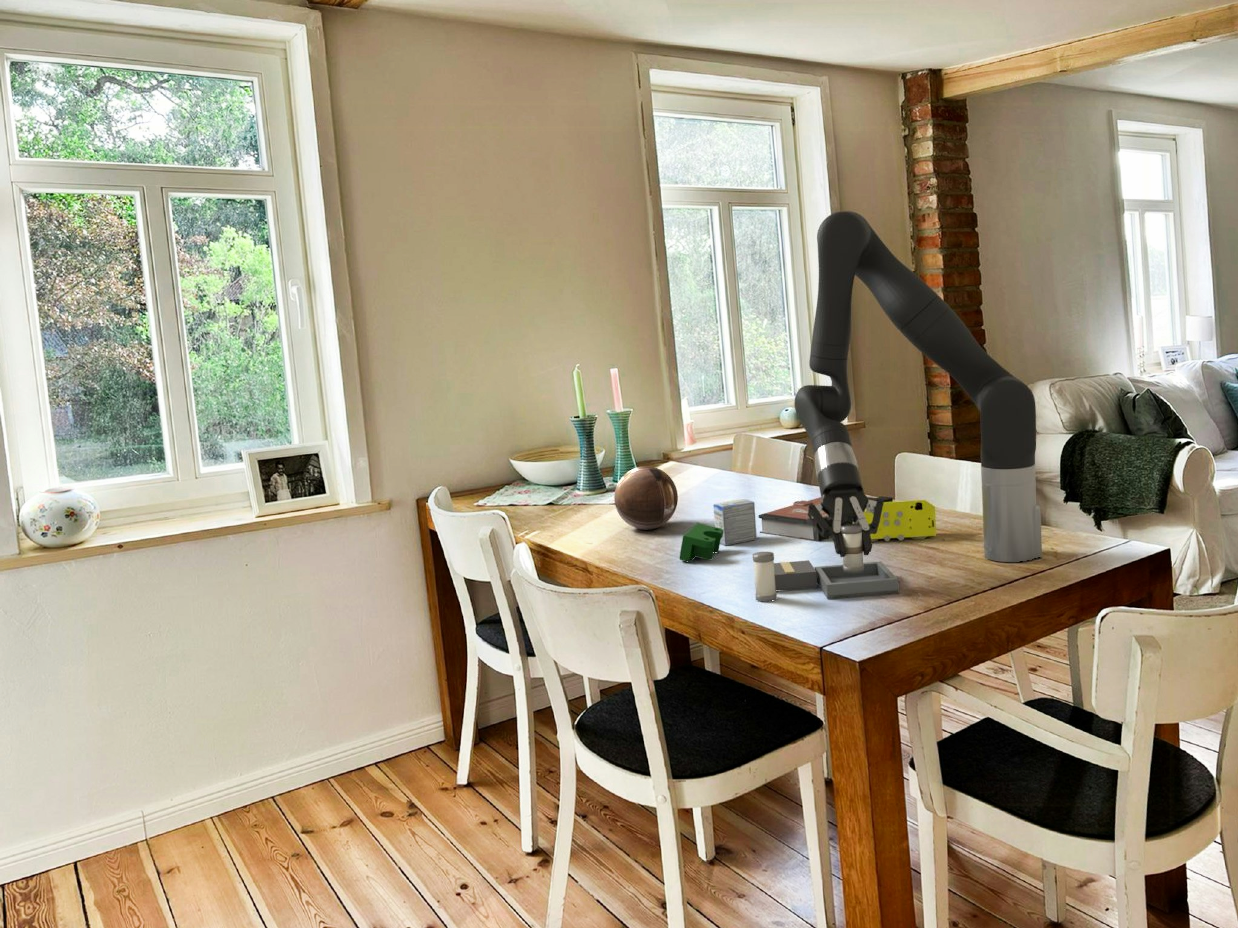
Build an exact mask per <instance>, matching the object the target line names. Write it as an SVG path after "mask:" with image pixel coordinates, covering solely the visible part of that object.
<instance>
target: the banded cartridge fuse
mask: <svg viewBox="0 0 1238 928" xmlns="http://www.w3.org/2000/svg"><path fill="white" fill-rule="evenodd" d="M841 533H842V535H843V540H844V544H845V549H846V554H845V557H842V563H843V564H842V565H843V572H845V573H852V574H854V573H861V572H864V564H863V563H864V553H863V545H862V525H860V524H845V525H842V526H841Z"/></svg>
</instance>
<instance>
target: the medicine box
mask: <svg viewBox="0 0 1238 928" xmlns="http://www.w3.org/2000/svg"><path fill="white" fill-rule="evenodd" d="M755 505H756V504H755V501H752V500H750V499H747V498H740V499H734V500H730V501H722V502H718V503H714V504H713V517H714V527H717V528H721V529H723V530H724V531H723V537H722V538H721V540H720V545H722V546H725V547H727V546H730V545H735V544H741V543H746V542H750V541H756V540H758V537H757V526H756V525H757V522H756V508H755V507H756V506H755Z"/></svg>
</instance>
